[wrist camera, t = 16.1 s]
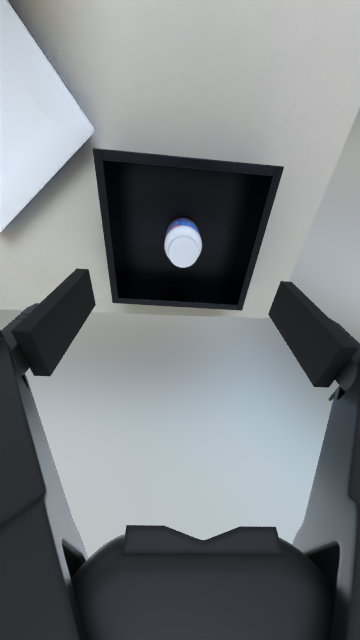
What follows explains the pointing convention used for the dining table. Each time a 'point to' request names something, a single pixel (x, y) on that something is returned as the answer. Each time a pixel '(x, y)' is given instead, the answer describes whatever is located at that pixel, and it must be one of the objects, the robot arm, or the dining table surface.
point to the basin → (182, 202)
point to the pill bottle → (183, 242)
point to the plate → (31, 118)
